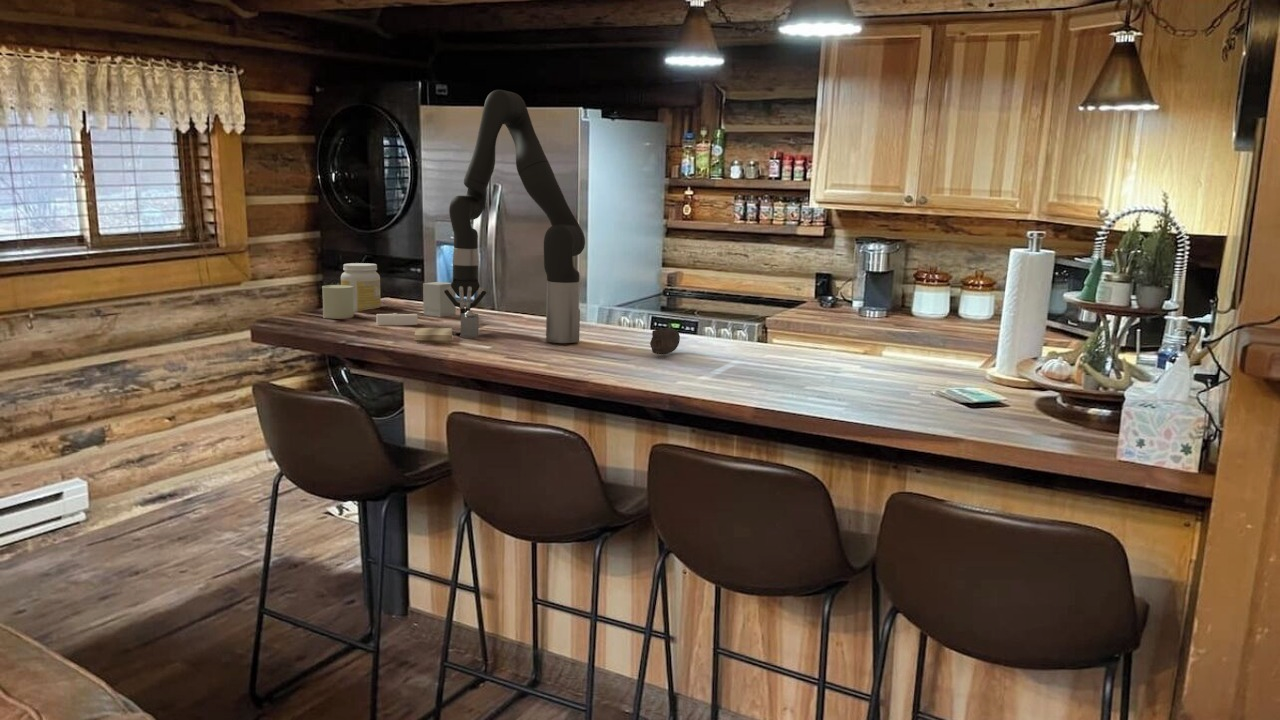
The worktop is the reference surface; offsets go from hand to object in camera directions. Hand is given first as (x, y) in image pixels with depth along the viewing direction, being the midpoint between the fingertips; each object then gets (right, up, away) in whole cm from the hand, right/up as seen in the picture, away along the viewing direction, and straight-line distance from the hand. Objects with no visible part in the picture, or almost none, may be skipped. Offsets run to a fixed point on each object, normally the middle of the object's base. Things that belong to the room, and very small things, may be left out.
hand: (464, 320), depth 288 cm
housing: (+3, -5, -11) cm, 12 cm away
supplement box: (-10, 0, +12) cm, 16 cm away
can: (-39, -1, +3) cm, 39 cm away
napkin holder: (-19, -4, -6) cm, 21 cm away
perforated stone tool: (+60, -10, -29) cm, 67 cm away
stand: (-5, -6, -22) cm, 23 cm away
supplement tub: (-37, +2, +21) cm, 43 cm away
